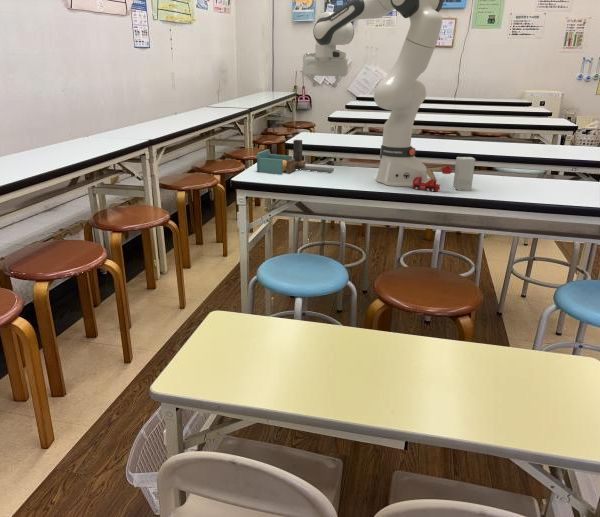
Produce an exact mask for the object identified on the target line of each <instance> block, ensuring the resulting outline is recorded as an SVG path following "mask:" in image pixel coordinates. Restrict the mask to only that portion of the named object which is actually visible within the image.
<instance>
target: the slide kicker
mask: <svg viewBox="0 0 600 517" xmlns="http://www.w3.org/2000/svg"><path fill="white" fill-rule="evenodd" d="M292 142H293V143H292V144H293V146H292V147H293V150H292V154H293V155H292V159H290V160H288V161H287V171H286V173H287V174H290V173H293V172H294V171H296V170H295V166H298V167H303V166H306V160H303V140H302V139H294V140H293V141H292Z"/></svg>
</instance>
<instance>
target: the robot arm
mask: <svg viewBox="0 0 600 517" xmlns="http://www.w3.org/2000/svg"><path fill="white" fill-rule="evenodd" d="M444 1H445V0H351V1H349V2H347V3H346V4H345V5H343V6H341V7H340V8H338V9H337V10H336V11H332V10H330V11H329V10H328V11H323V12H320V13H319V14H318V15H317V17H316V22H315V24H314V27H313V34H312V35H313V38H314V41H316V42H315V45H314V47H315V49H314V50H315V52H313V53H309V52H307V53H305V54H304V55H303V56H302V72H301V73H302V75H303V76H309V79H310V82H311V86H312V88H314V87H317V82H316V80H314V79H315V76H317V77H320V76H321V77H334V79H335V81H334V82H332V83H331V84H332V88H337V86H338V82H339V80H340V77H346V76H348V73H349V67H348V66H349V65H348V60H347V59H346V57H347V53H346V52H343V51H341V50H339V49H336V48H337V46H344V45H349V44H350V43H351V42H352V41H353V39H354V36H355V28H354V25H353V23H352V22H355V21H358V20H368V19H369V20H372V19H375V20H377V19H380V18H383V17H385V16H387V15H389V14H391V13H392V12H393V11H394V10H395V11H397V12H398V13H399V14H400V15H401V17H403V18H404V19H408V18H409V21H410V23H409V24H410V25H409V29H408V31H407V33H406V37H405V40H404V41H403V45H402V47H401V50H400V52H399V55H398V58H397V60H395V61H396V62H395V63H394V64H393V66H392V68H391V69H390V71H389V73H388V74H387V75H386V77H385V78H384V79H383V80H382V81H381V82H380V83H379V84H377V86H375V89H374V92H373V100H374V102H375V105H376V106H377V107H378V108H381V109H382V110H383V109H384V110H387V111H391V112H390V114H389V117H388V119H387V120H386V121H385V122H384V124H383V131H382V143H381V145H380V153H379V157H380V158H379V159H380V161H379V166H378V171H377V175H376V176H375V177H376V178H375V181H376V182H379V183H381V184H383V185H385V186H388V187H389V186H391V187H392V186H393V187H410V188H412V187H413V180H414V178H416V177H422V179H421V183H426V182H428V181H430V180H431V179H430V177H429V176H428V174H427V173H426V171H427V170H428V169H427V167H426V165H425V164H424V163H423V162H422V161H420V160H419V159H418V158H417V157H416V156H415V155H416V148H415V147H413V146H412V145H411V143H412V136H413V127H414V123H415V119H416V117H417V114H418V111H419V108H420V107H421V105H422V104H423V102H424V101H425V99H426V96H427V89H426V86H425V84H424V83H422V82H421V81H419V80H418V79H419V77H420V76H421V74H422V73H424V72H425V71H426V70H427V68H428V66H429V63H430V61H431V58H432V56H433V53H434V51H435V48H436V46H437V43H438V40H439V37H440V35H441V34H440V33H441V29H442V25H443V17H442V15H441V13H440V11H441V10H442V8H443V6H444Z"/></svg>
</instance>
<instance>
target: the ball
mask: <svg viewBox="0 0 600 517" xmlns="http://www.w3.org/2000/svg"><path fill="white" fill-rule="evenodd" d="M284 172H285V173H286V172H287V161H286V160H283V173H284Z"/></svg>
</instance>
